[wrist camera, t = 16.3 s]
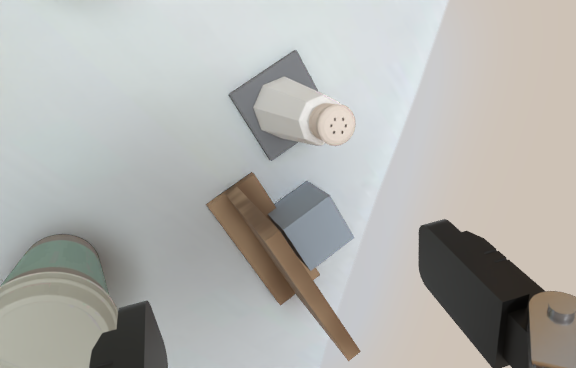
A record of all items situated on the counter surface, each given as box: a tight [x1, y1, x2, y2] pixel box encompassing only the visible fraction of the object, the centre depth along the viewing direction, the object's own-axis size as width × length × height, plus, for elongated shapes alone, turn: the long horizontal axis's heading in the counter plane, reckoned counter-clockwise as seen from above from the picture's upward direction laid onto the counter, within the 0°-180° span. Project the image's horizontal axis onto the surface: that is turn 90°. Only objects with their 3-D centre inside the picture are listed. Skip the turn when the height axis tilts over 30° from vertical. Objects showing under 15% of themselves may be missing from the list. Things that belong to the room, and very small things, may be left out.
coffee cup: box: [0, 234, 118, 368], centre depth 33 cm, size 8×9×12 cm
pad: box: [229, 50, 318, 161], centre depth 41 cm, size 7×7×1 cm
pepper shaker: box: [253, 77, 355, 146], centre depth 36 cm, size 5×5×11 cm
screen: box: [206, 172, 360, 361], centre depth 39 cm, size 5×13×12 cm, turn 31°
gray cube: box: [268, 181, 354, 271], centre depth 43 cm, size 5×5×5 cm
